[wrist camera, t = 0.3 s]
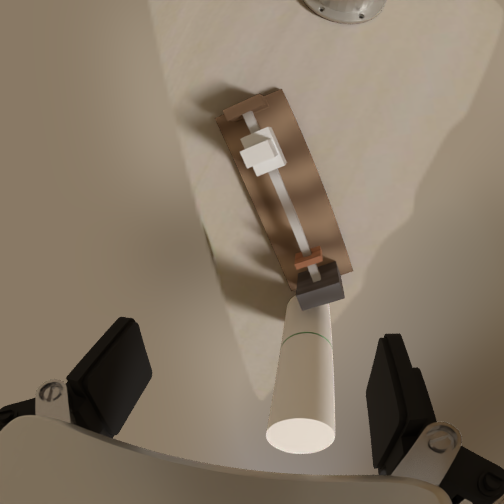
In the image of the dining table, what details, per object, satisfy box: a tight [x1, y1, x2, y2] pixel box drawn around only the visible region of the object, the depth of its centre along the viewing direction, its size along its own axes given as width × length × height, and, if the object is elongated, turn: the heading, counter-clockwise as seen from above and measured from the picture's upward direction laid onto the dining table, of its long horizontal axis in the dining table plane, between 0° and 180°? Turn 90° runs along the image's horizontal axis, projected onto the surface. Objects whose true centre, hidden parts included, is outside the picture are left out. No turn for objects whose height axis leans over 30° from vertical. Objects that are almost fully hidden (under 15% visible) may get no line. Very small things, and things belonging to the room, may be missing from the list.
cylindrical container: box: [266, 295, 335, 454], centre depth 39 cm, size 7×7×25 cm
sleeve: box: [240, 127, 287, 176], centre depth 35 cm, size 5×4×8 cm
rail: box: [215, 89, 353, 311], centre depth 40 cm, size 28×10×8 cm, turn 24°
